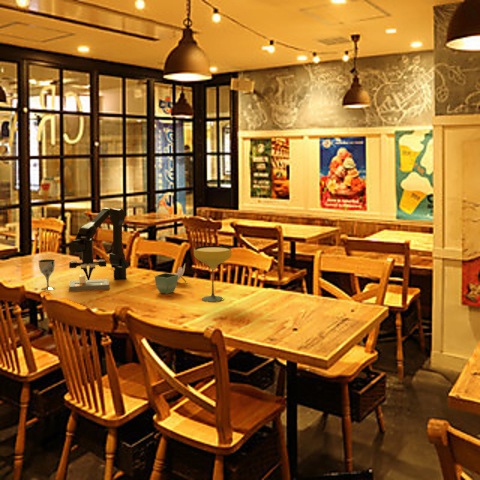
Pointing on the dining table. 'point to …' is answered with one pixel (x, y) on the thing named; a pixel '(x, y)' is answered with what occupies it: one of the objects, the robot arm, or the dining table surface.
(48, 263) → the wine glass
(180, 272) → the water lily
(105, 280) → the console
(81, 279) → the fader
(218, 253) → the cocktail glass
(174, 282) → the flower pot
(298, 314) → the dining table surface
